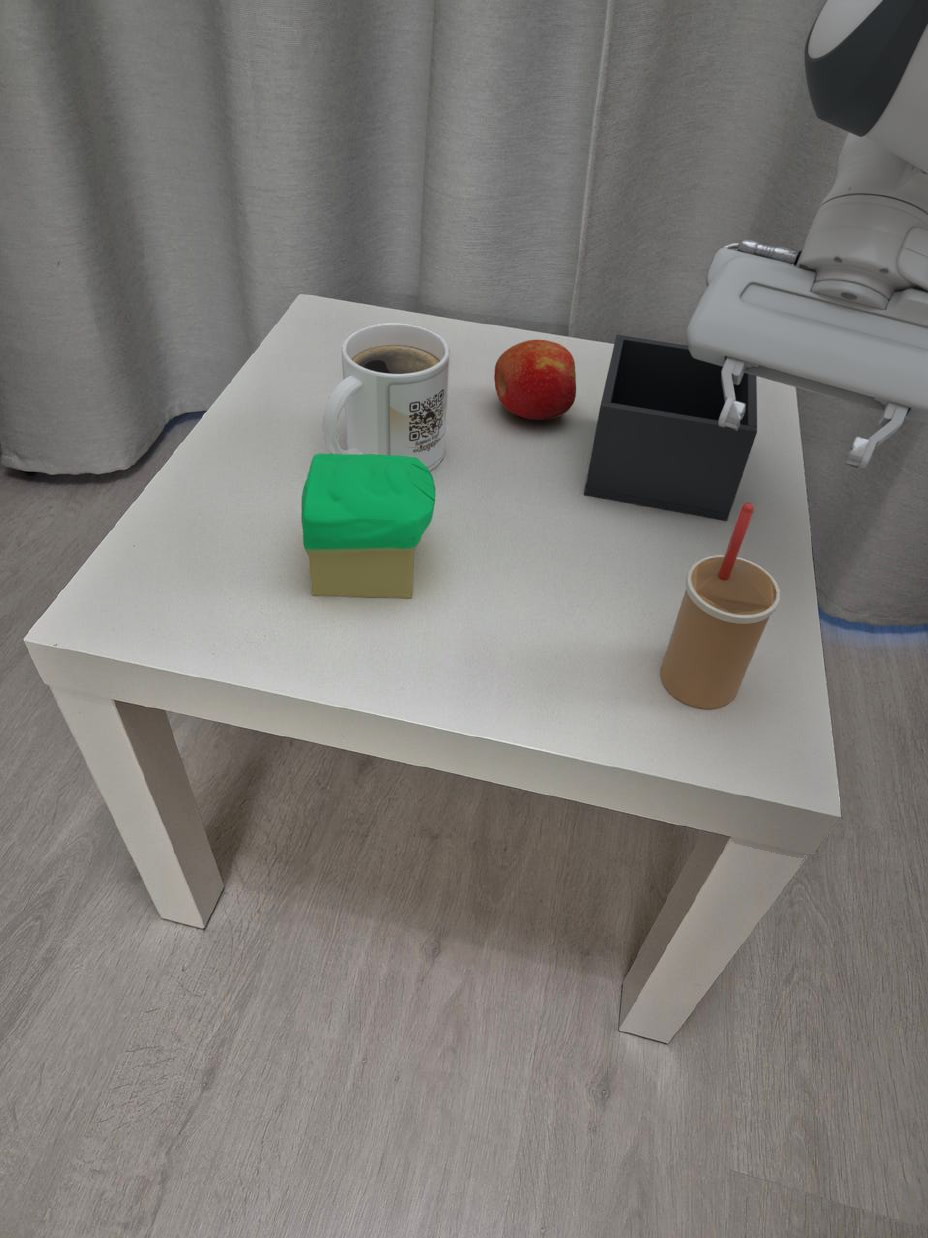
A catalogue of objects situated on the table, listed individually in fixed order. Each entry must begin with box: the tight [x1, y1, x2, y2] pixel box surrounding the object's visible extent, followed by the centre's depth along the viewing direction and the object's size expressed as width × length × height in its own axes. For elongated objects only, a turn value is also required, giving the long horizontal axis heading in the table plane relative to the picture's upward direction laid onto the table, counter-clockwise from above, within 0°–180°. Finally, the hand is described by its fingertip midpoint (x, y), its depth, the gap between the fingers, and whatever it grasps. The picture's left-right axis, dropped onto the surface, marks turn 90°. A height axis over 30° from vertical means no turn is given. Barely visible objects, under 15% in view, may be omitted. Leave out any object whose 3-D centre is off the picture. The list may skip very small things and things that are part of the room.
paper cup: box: [659, 502, 781, 710], centre depth 62 cm, size 6×6×16 cm
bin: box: [583, 334, 758, 521], centre depth 84 cm, size 14×14×10 cm
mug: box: [322, 322, 450, 472], centre depth 83 cm, size 10×12×11 cm
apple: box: [493, 339, 577, 421], centre depth 91 cm, size 8×8×8 cm
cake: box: [301, 452, 436, 599], centre depth 72 cm, size 10×11×10 cm
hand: (790, 445), depth 64 cm, fingers open, 8 cm apart
